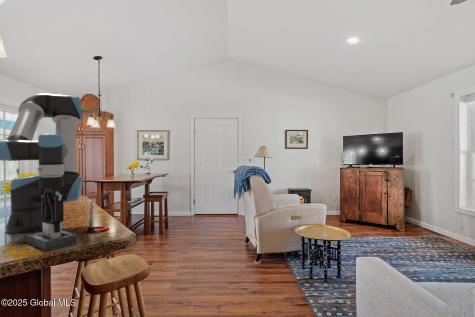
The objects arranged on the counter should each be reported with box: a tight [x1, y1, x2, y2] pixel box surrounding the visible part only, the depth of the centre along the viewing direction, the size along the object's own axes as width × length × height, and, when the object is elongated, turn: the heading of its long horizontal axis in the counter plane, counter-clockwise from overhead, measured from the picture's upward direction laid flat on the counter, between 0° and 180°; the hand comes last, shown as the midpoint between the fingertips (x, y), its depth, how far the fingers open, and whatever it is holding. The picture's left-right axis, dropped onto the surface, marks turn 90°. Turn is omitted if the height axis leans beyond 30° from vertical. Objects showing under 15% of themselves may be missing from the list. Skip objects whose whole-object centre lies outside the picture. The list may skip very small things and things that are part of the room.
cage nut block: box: [42, 220, 63, 240], centre depth 98 cm, size 4×4×7 cm
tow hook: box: [82, 201, 110, 234], centre depth 115 cm, size 8×13×9 cm
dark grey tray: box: [24, 229, 78, 252], centre depth 99 cm, size 18×10×3 cm, turn 56°
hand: (52, 239), depth 98 cm, fingers closed on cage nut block, 4 cm apart
